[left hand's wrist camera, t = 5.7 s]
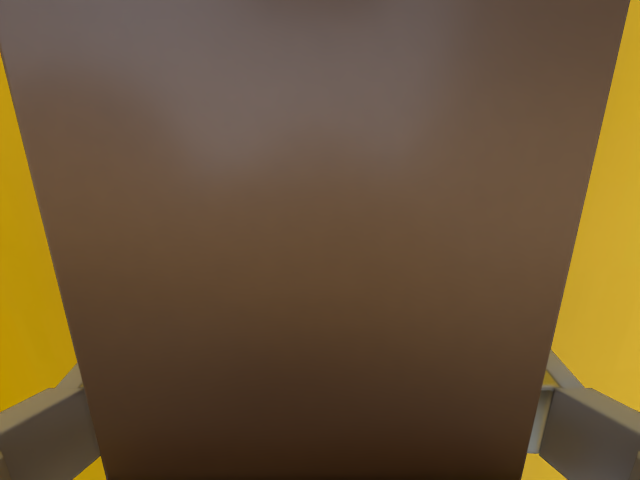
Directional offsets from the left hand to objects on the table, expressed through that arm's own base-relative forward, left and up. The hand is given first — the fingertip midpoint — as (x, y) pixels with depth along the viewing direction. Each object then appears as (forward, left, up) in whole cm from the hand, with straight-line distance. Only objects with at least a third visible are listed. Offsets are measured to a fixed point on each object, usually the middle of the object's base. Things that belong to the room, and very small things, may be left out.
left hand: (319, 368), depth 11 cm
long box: (+7, 0, -5) cm, 9 cm away
